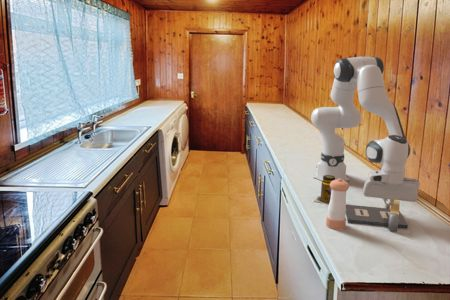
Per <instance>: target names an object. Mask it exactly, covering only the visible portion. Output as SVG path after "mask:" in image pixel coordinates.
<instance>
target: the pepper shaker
mask: <svg viewBox="0 0 450 300" xmlns="http://www.w3.org/2000/svg"><path fill="white" fill-rule="evenodd" d="M330 188H331V189H332V190H331V199H330V203H329V205H328V206H327V215H326V220H325V221H326V222H325V225H326V227H328V228H329V229H331V230H335V231H336V230H338V231H340V230H344V229H345V228H346V222H347V217H346V205H347V203H346V200H347V191H348V190H349V188H350V185H349V183H348V181H343V180H342V179H338V180H333V181H332V182H331V183H330Z"/></svg>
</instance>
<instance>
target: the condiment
mask: <svg viewBox="0 0 450 300" xmlns="http://www.w3.org/2000/svg"><path fill="white" fill-rule="evenodd" d="M333 180H335V177H334V176H331V175H324V176H323V181H321V188H320V190H321V191H320V196H319V195H318V196H317V197H316V198H315V200H314V202H315V203H321V204H324V205H328V206H329V203H330V199H331V190H332V189H331V188H330V183H331V182H332V181H333Z"/></svg>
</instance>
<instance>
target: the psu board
mask: <svg viewBox="0 0 450 300" xmlns="http://www.w3.org/2000/svg"><path fill="white" fill-rule="evenodd" d="M390 210H391V208H390V209H385V207H376V206H366V205H355V204H346V215H345V217H346V222H347V223H348V224H354V225H355V224H356V225H357V224H358V225H365V226H366V225H367V226H374V227H375V226H377V227H387V228H388V226H389V218H390ZM408 228H409V225H408V223H407V221H406V219H405V217H404V216H403V214H402V213H401V211H400V210H399V221H398V228H397V229H405V230H408Z"/></svg>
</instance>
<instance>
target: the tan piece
mask: <svg viewBox="0 0 450 300" xmlns="http://www.w3.org/2000/svg"><path fill="white" fill-rule="evenodd" d="M400 202H401V200H394V203H393V204H391V206H390V209H391V210H390V218H389V226H388V227H387V230H389V231H391V232H397V231H398V229H399V228H398V221H399V211H400Z"/></svg>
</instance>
